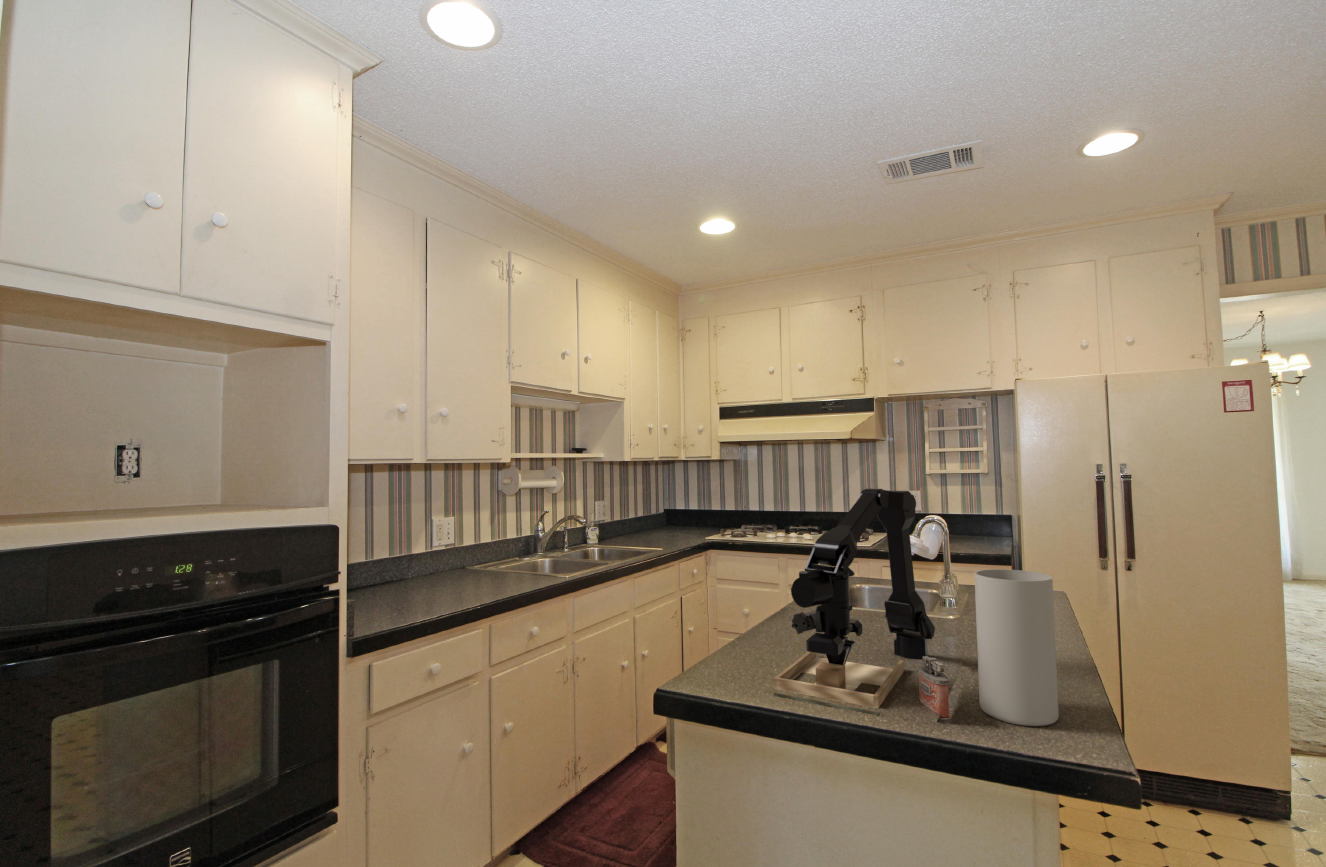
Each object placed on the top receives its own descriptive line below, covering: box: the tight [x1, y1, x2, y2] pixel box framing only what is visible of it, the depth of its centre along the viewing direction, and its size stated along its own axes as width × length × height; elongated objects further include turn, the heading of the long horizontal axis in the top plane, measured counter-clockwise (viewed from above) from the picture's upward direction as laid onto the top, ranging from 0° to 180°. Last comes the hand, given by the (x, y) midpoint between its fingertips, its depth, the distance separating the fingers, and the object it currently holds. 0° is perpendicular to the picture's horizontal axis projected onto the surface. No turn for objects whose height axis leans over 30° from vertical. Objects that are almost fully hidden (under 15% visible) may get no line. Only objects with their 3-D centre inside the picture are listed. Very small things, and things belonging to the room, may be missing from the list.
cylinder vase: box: [973, 568, 1060, 727], centre depth 114 cm, size 12×12×25 cm
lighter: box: [917, 655, 952, 725], centre depth 113 cm, size 8×3×10 cm, turn 5°
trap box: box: [773, 651, 905, 717], centre depth 128 cm, size 20×24×4 cm
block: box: [815, 662, 846, 689], centre depth 122 cm, size 4×4×4 cm
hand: (836, 678), depth 125 cm, fingers closed
